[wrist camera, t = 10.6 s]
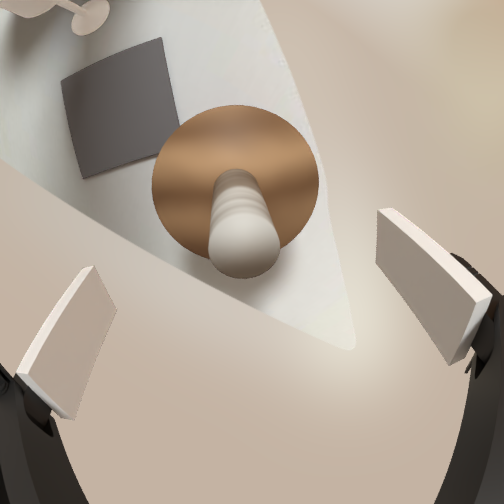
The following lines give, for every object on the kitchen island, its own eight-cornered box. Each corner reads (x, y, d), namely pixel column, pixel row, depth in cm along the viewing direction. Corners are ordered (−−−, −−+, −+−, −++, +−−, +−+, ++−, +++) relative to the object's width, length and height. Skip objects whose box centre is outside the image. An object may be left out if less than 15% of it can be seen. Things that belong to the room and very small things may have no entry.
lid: (135, 129, 21) (76, 158, 12) (305, 93, 21) (364, 96, 11) (180, 269, 29) (166, 351, 20) (320, 241, 29) (361, 313, 19)
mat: (62, 81, 27) (60, 81, 26) (161, 38, 26) (160, 37, 26) (84, 178, 34) (83, 178, 34) (184, 145, 34) (183, 146, 33)
